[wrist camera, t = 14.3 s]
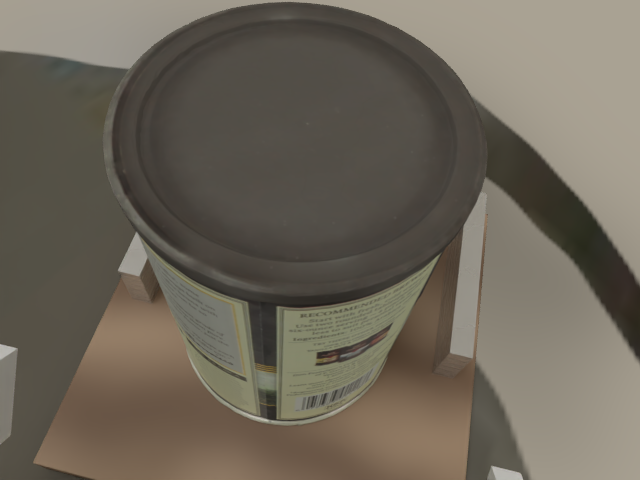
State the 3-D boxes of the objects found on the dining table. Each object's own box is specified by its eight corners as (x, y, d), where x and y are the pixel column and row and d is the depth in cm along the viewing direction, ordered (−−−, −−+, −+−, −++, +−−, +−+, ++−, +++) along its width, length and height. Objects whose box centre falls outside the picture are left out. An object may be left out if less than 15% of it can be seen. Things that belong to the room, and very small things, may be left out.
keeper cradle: (452, 378, 26) (526, 304, 18) (132, 298, 27) (78, 197, 19) (470, 207, 31) (533, 95, 24) (202, 145, 32) (180, 18, 24)
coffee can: (280, 198, 30) (285, -43, 18) (431, 312, 27) (556, 116, 15) (135, 327, 26) (15, 122, 14) (296, 479, 23) (322, 389, 11)
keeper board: (447, 576, 23) (457, 576, 22) (45, 467, 24) (32, 462, 23) (478, 228, 32) (487, 214, 31) (188, 160, 33) (184, 144, 32)
